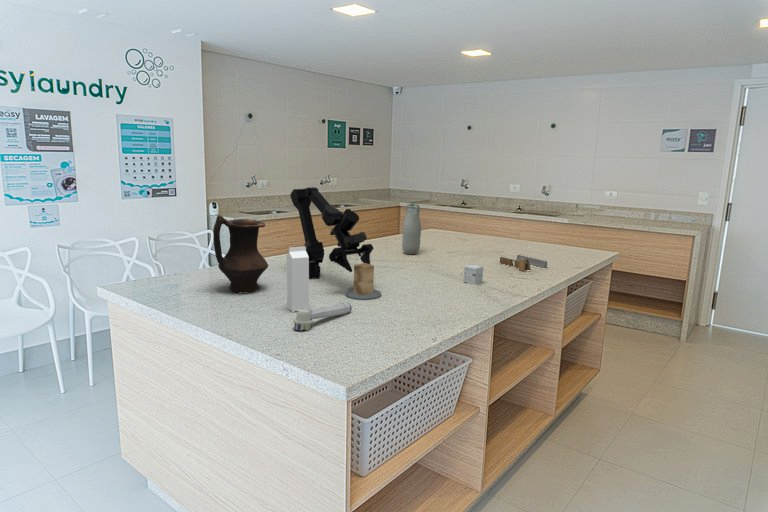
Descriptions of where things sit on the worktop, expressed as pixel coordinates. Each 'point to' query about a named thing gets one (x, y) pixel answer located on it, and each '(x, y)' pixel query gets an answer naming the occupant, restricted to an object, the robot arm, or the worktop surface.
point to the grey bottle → (411, 229)
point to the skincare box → (473, 274)
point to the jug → (240, 253)
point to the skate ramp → (523, 262)
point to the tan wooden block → (363, 278)
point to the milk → (297, 279)
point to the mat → (356, 296)
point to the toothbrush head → (319, 314)
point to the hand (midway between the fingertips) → (360, 270)
